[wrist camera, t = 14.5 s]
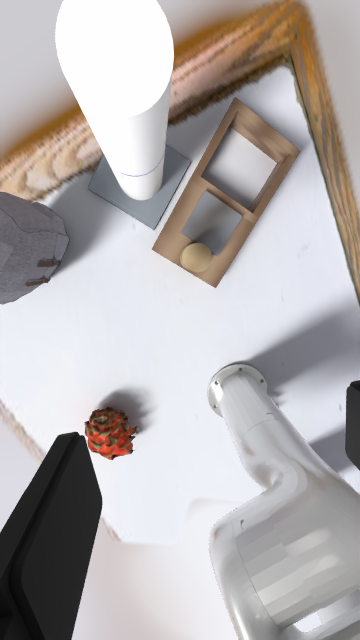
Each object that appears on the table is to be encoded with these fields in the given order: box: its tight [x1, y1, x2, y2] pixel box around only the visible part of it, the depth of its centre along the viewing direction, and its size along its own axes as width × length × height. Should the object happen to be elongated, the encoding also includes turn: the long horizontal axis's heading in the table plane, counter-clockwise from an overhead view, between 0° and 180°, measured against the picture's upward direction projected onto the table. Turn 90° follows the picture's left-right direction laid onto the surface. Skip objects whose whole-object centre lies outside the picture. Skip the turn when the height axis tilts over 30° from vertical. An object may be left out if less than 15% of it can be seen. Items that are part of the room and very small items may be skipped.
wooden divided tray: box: [152, 97, 300, 288], centre depth 37 cm, size 12×24×10 cm, turn 149°
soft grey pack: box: [0, 192, 69, 305], centre depth 32 cm, size 15×8×20 cm, turn 143°
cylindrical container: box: [56, 0, 174, 200], centre depth 27 cm, size 7×7×25 cm
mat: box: [88, 144, 190, 230], centre depth 39 cm, size 12×12×1 cm
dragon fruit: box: [85, 407, 138, 460], centre depth 48 cm, size 8×8×12 cm
